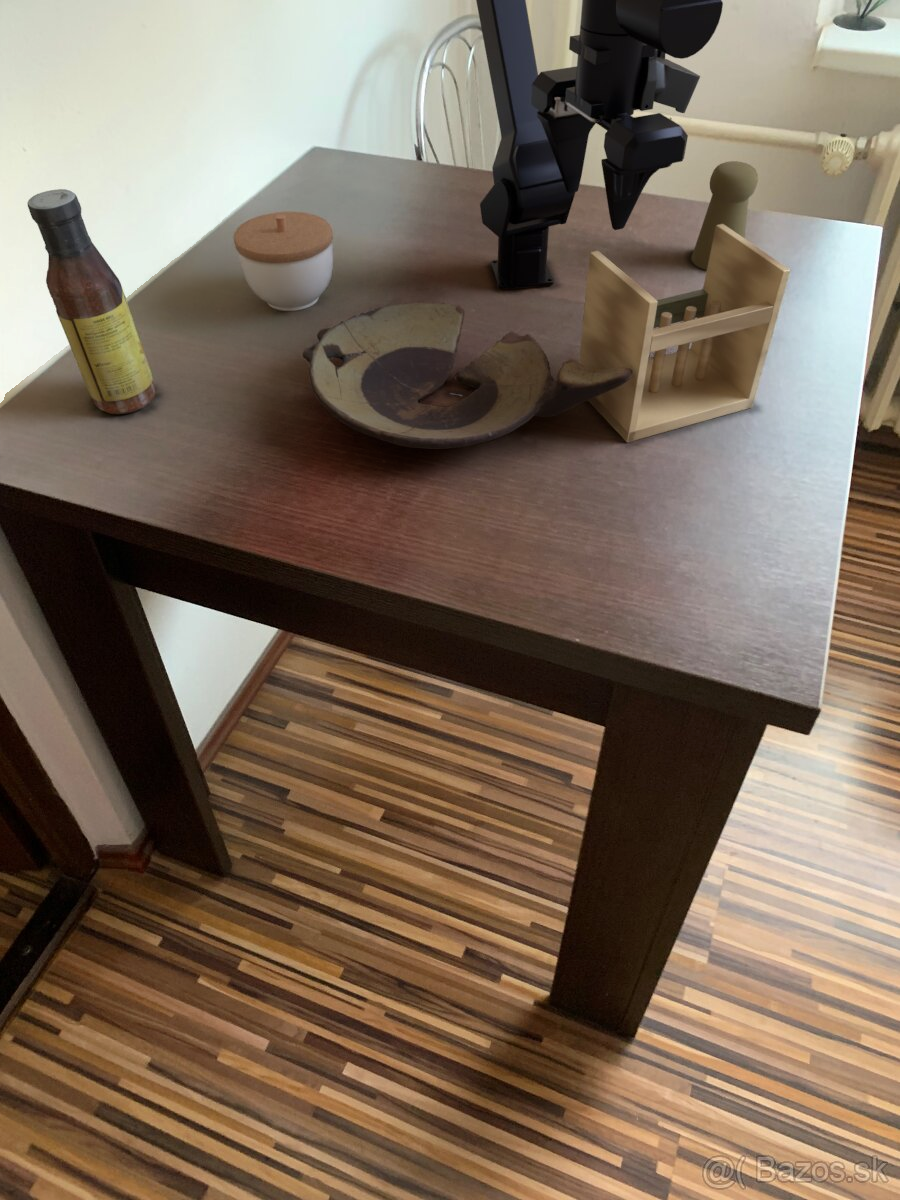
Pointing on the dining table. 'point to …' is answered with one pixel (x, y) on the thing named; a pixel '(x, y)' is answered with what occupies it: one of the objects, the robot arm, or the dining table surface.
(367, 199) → the dining table surface
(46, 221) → the sauce bottle
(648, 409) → the rack
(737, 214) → the olive pawn
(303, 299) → the trinket box
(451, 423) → the broken clay pan
